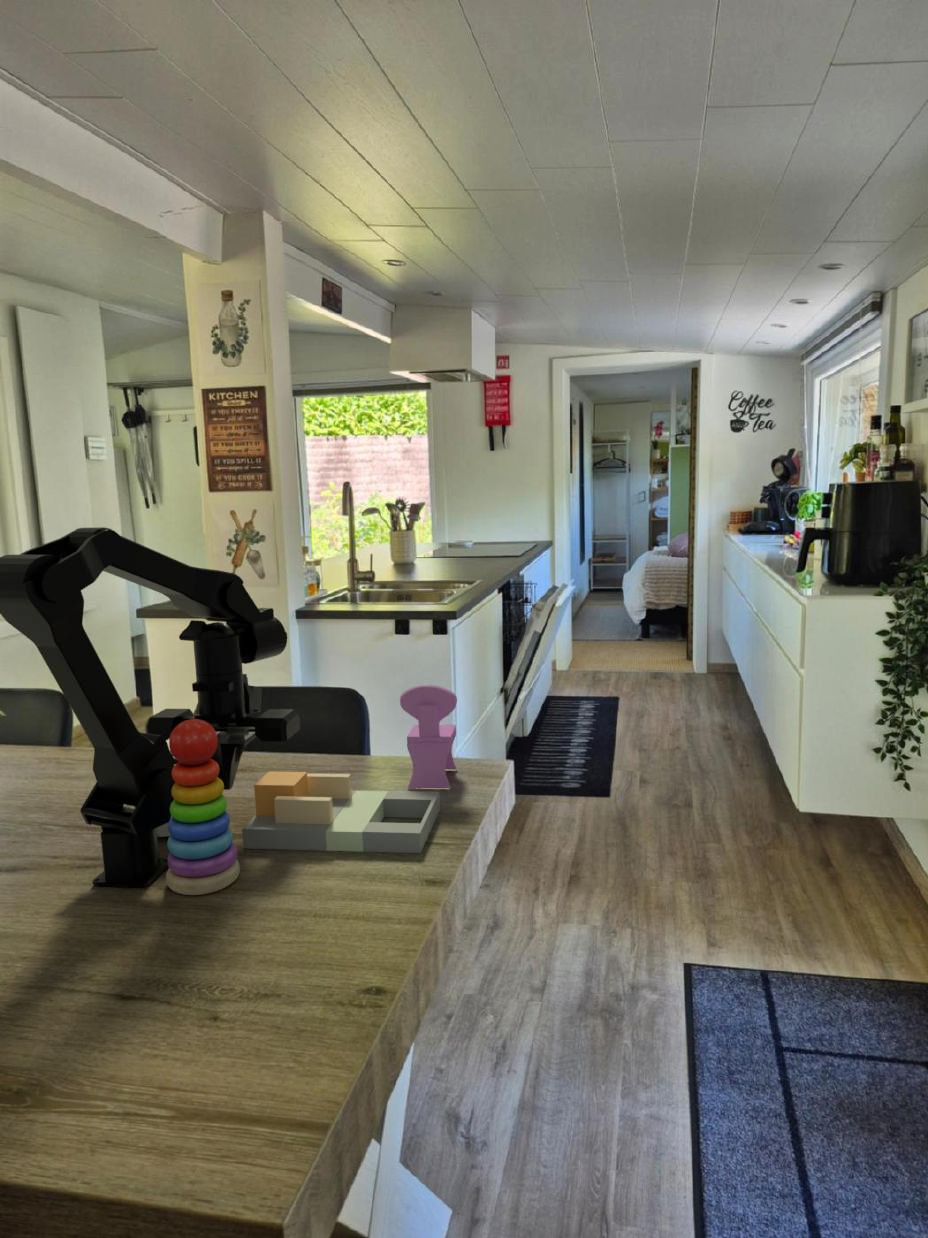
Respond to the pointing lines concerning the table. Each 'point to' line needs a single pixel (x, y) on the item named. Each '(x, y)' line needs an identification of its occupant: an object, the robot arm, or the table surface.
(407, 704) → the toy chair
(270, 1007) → the table surface
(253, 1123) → the table surface
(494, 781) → the table surface
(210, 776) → the stacking toy
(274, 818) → the tunnel board
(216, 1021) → the table surface
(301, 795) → the block
